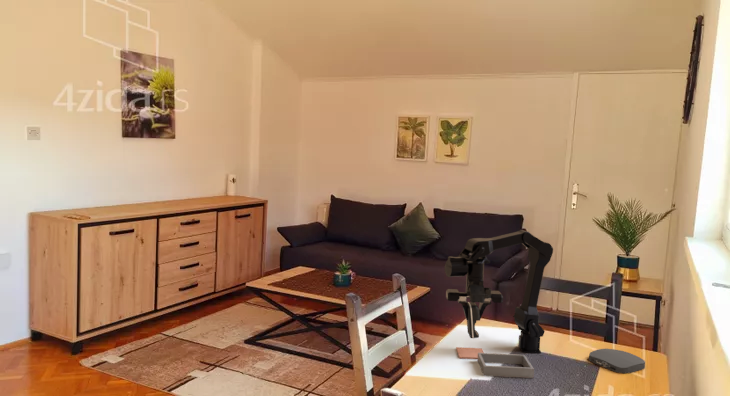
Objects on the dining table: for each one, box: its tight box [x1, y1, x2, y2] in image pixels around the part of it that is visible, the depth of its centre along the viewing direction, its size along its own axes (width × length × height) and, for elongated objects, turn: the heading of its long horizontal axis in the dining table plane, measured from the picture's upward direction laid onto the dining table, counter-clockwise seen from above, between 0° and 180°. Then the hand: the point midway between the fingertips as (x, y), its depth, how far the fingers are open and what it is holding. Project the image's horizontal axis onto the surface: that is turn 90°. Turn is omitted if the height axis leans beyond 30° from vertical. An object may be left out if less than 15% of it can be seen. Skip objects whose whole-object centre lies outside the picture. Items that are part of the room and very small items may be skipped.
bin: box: [476, 352, 535, 379], centre depth 174 cm, size 16×12×3 cm
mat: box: [455, 346, 485, 360], centre depth 186 cm, size 9×9×1 cm
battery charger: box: [466, 301, 481, 339], centre depth 185 cm, size 7×4×11 cm, turn 178°
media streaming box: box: [588, 348, 646, 374], centre depth 182 cm, size 15×15×3 cm
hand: (472, 320), depth 185 cm, fingers closed on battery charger, 4 cm apart
